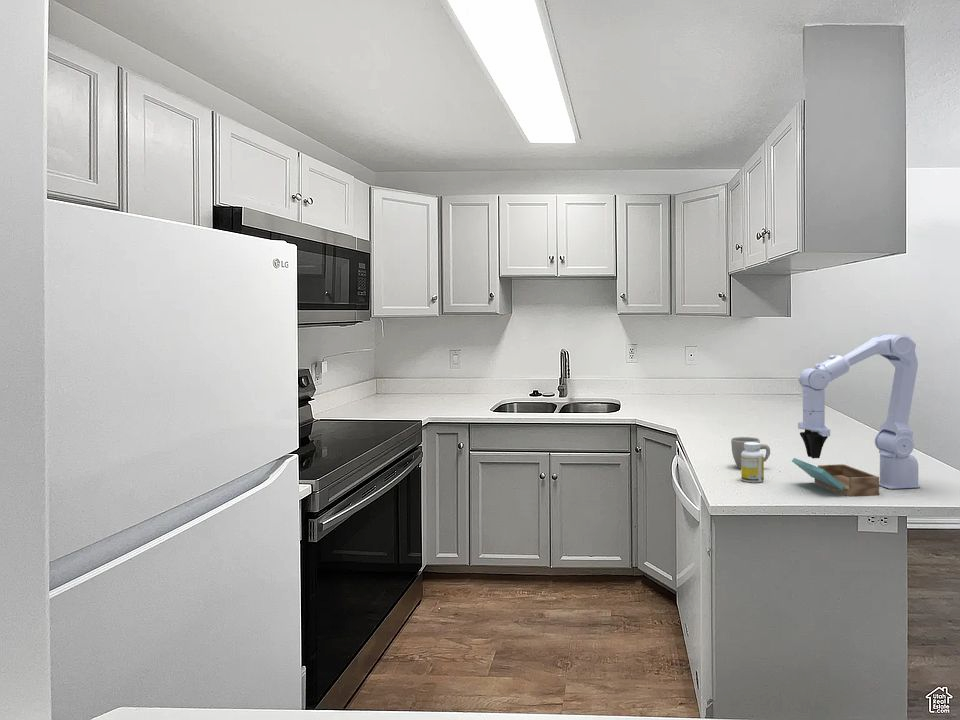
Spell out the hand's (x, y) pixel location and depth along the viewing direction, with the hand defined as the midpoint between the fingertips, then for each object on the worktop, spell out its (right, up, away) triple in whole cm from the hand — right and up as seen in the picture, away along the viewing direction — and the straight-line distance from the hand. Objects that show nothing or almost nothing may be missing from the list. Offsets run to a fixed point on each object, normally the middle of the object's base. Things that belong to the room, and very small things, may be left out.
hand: (813, 457), depth 217 cm
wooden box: (+10, -9, +1) cm, 13 cm away
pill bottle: (-13, -9, +14) cm, 21 cm away
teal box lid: (+4, -7, +1) cm, 8 cm away
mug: (-7, -8, +31) cm, 33 cm away
